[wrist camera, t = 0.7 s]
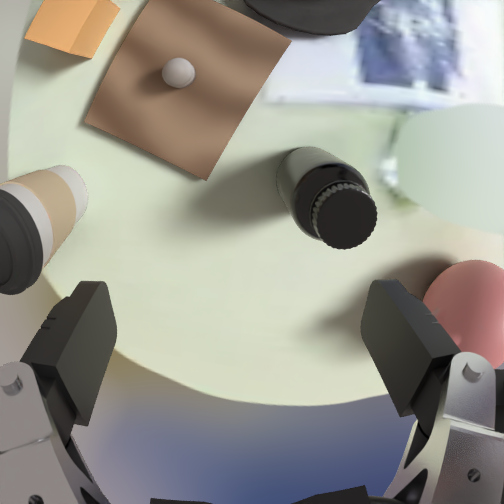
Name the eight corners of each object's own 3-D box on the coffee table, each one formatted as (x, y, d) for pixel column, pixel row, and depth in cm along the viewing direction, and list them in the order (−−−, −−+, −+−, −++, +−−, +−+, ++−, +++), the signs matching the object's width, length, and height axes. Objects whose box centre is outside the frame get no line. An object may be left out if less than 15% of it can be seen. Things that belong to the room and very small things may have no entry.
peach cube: (77, -4, 21) (54, -18, 16) (120, 8, 23) (101, -6, 18) (50, 44, 23) (24, 38, 18) (91, 58, 25) (68, 53, 20)
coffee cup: (97, 156, 30) (18, 200, 16) (99, 235, 33) (39, 315, 20) (30, 156, 28) (-60, 198, 15) (35, 229, 32) (-36, 297, 19)
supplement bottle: (264, 194, 33) (282, 242, 22) (292, 134, 30) (329, 153, 20) (320, 218, 35) (360, 273, 24) (349, 163, 32) (405, 197, 21)
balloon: (384, 240, 37) (454, 317, 23) (492, 240, 38) (559, 293, 24) (361, 338, 43) (401, 422, 30) (462, 323, 45) (510, 384, 31)
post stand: (165, -15, 22) (154, -34, 17) (288, 43, 26) (301, 32, 21) (89, 120, 28) (65, 125, 23) (207, 177, 32) (203, 192, 27)
